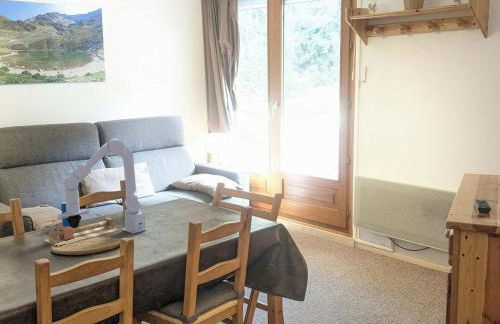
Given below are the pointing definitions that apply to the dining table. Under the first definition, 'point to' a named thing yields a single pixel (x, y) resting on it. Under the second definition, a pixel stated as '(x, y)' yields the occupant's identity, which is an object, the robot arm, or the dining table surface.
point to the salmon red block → (66, 232)
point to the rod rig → (85, 231)
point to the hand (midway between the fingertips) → (74, 231)
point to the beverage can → (63, 209)
